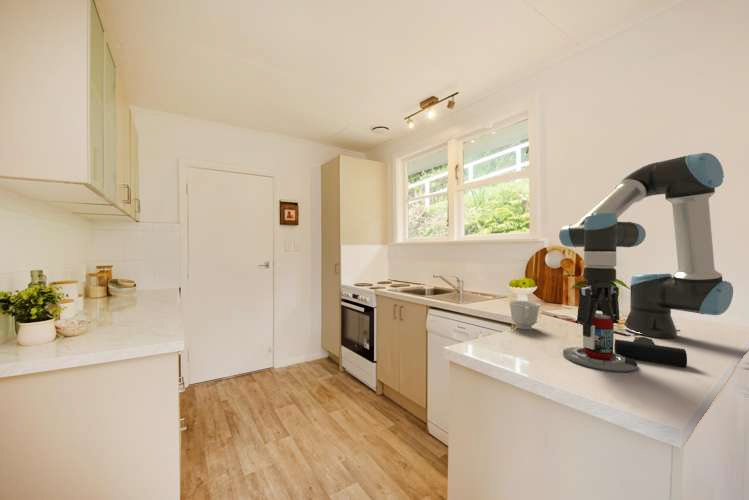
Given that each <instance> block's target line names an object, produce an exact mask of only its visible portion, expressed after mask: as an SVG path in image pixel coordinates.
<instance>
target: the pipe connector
mask: <svg viewBox="0 0 749 500" xmlns="http://www.w3.org/2000/svg"><path fill="white" fill-rule="evenodd" d="M613 351H614V353H617V354H619V355H622V356H625V357H628V358H630V359H632V360H637V361H644V362H650V363H655V364H660V365H661V364H662V365H668V366H673V367H674V366H675V367H680V368H687V365H688V356H687V355H688V354H687V351H686V349H685V348H678V347H674V346H666V345H659V344H658V345H657V344H655V342H654V340H653V339H652V338H650V337H649V338H648V337H647V336H634V339H633V341H630V340H623V339H616V338H615V339H614V343H613Z"/></svg>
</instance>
